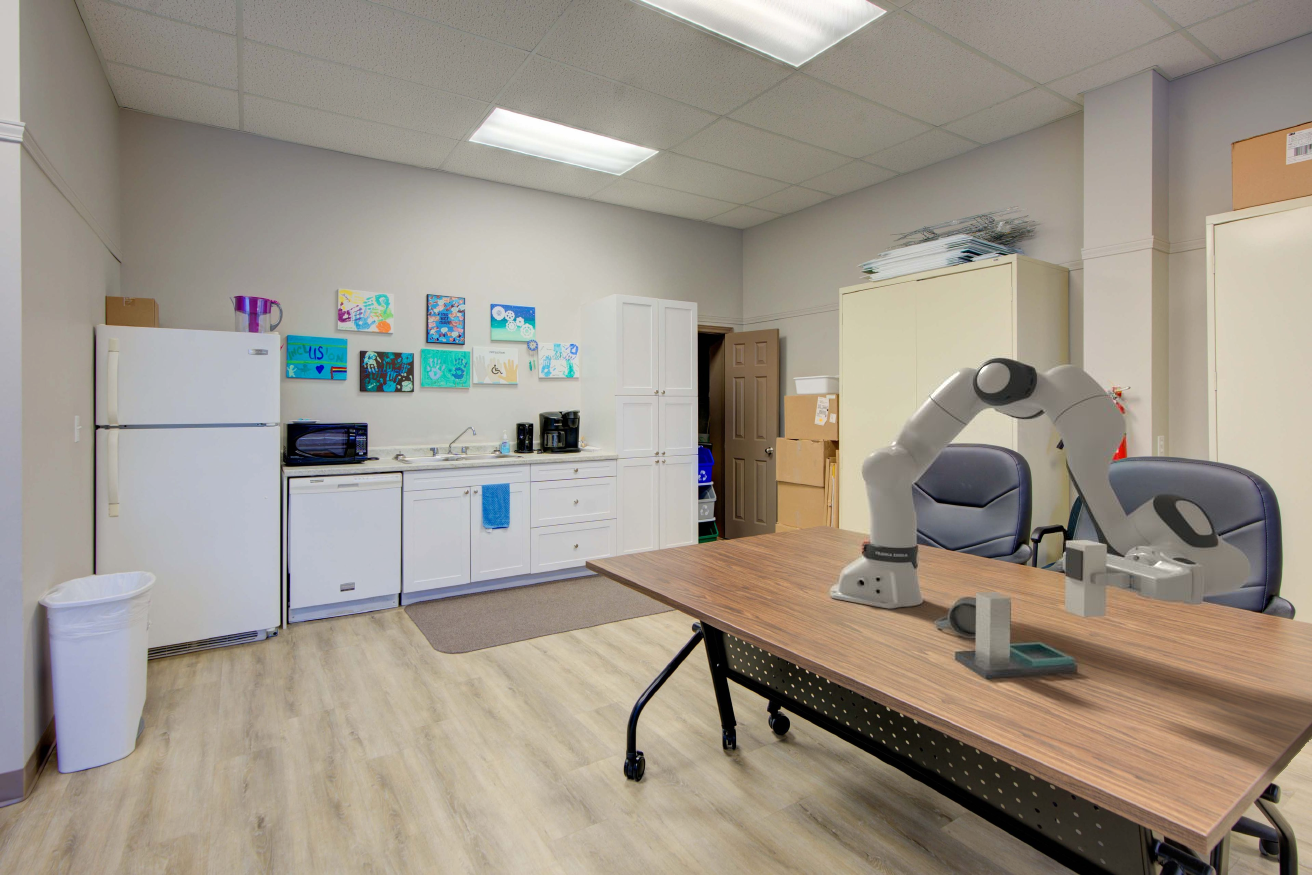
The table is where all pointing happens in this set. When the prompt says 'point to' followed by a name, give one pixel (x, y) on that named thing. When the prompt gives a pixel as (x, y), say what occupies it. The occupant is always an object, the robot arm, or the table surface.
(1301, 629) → the table surface
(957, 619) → the ceramic mug
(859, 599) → the robot arm
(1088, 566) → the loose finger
